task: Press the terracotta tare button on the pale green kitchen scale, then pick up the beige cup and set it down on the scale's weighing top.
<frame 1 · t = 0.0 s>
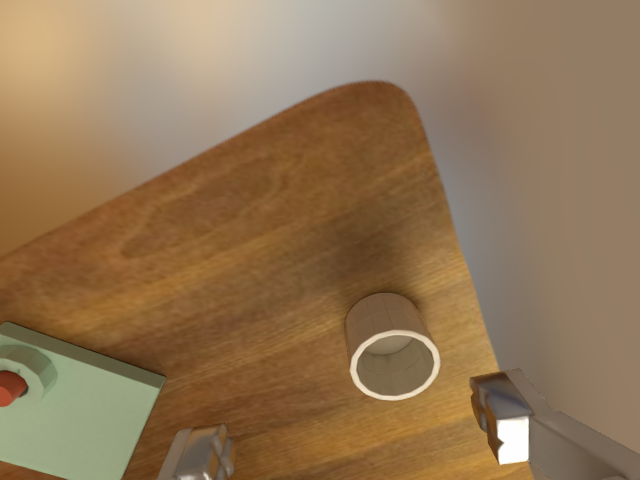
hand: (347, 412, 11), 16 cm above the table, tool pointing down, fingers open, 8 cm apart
beige cup: (382, 325, 29), on the table
scale: (71, 409, 32), on the table
tare button: (4, 388, 27), point 3 cm above the table, slide at 0.1 cm
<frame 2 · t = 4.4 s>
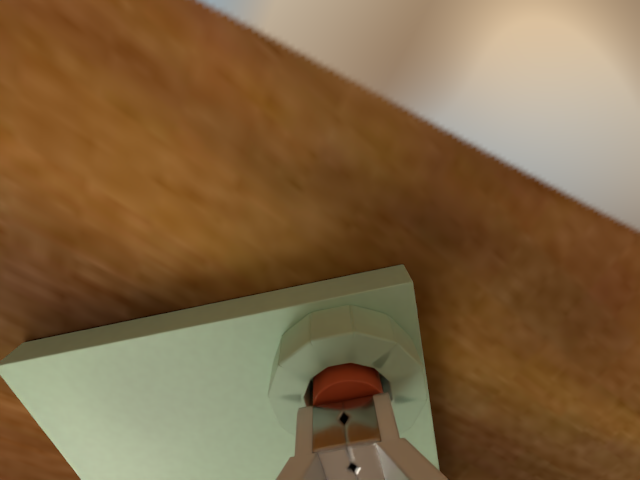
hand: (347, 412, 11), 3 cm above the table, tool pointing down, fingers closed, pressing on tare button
scale: (256, 426, 16), on the table
tare button: (347, 389, 12), point 3 cm above the table, slide at -0.7 cm, touching gripper
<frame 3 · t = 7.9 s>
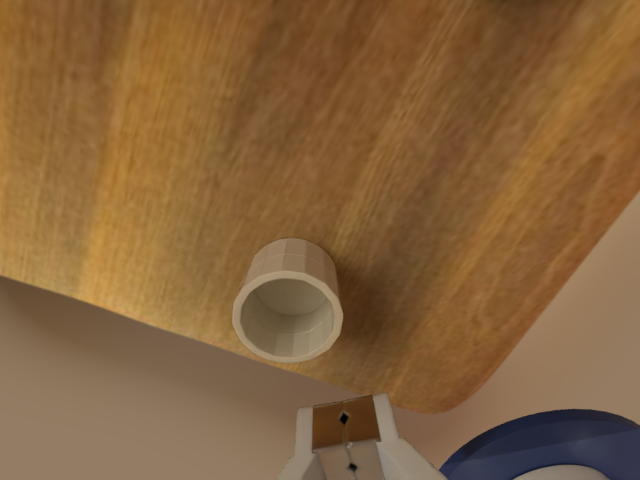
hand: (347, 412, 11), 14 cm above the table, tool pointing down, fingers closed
beige cup: (292, 279, 25), on the table
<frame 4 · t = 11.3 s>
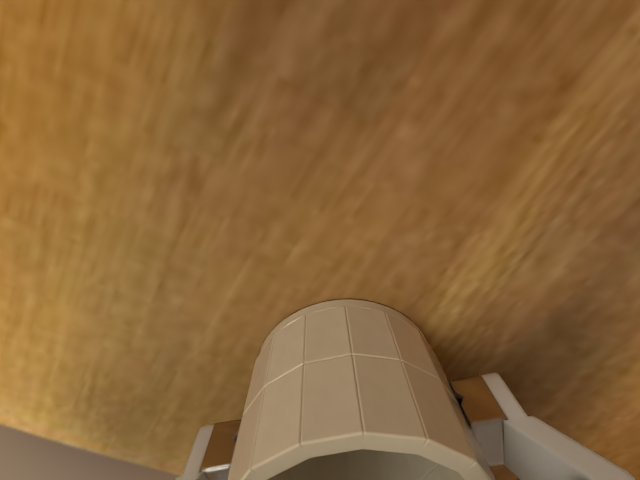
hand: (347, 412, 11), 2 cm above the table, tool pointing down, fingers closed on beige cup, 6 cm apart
beige cup: (344, 374, 12), on the table, touching gripper
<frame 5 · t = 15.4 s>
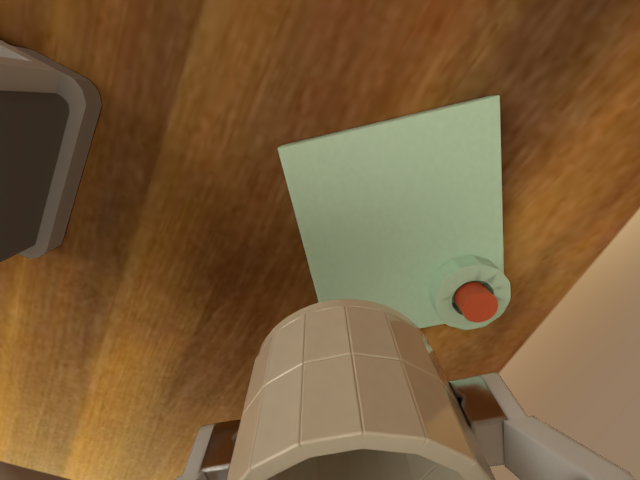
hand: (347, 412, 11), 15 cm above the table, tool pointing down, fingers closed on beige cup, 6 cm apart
beige cup: (344, 374, 12), point 14 cm above the table, touching gripper
scale: (398, 231, 25), on the table
tare button: (475, 301, 23), point 3 cm above the table, slide at 0.1 cm
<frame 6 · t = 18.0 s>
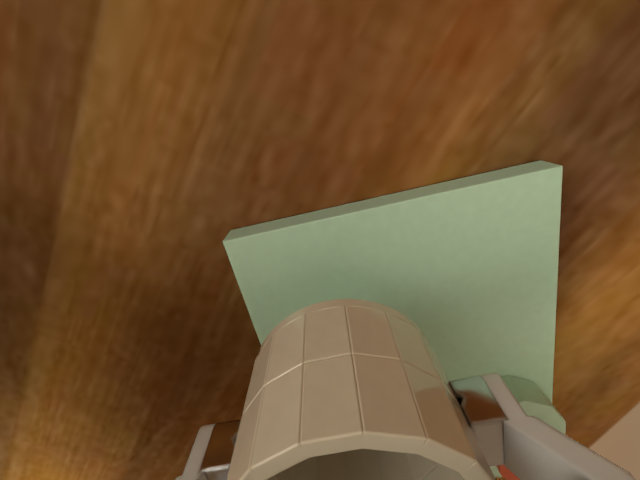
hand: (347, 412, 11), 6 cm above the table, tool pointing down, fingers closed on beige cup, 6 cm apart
beige cup: (344, 374, 12), point 5 cm above the table, touching gripper
scale: (403, 338, 18), on the table
tare button: (516, 449, 16), point 3 cm above the table, slide at 0.1 cm
when the fingers open (3 cm above the table, at t = 19.8 s): beige cup stays where it is, resting on scale.
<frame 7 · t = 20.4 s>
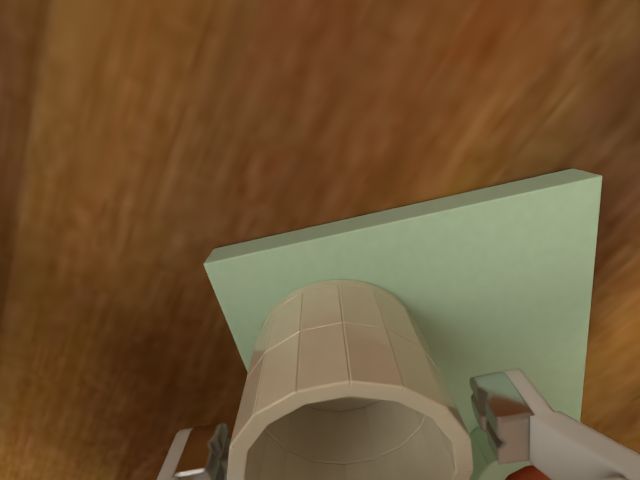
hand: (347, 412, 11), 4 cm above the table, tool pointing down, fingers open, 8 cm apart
beige cup: (338, 349, 14), point 1 cm above the table, touching scale
scale: (411, 367, 16), on the table
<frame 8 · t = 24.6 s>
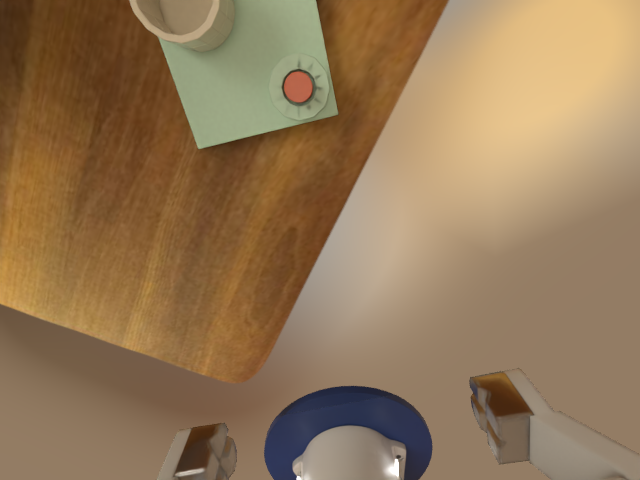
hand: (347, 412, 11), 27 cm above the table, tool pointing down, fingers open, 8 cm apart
beige cup: (195, 7, 28), point 1 cm above the table, touching scale
scale: (244, 41, 30), on the table
tare button: (298, 87, 29), point 3 cm above the table, slide at 0.1 cm
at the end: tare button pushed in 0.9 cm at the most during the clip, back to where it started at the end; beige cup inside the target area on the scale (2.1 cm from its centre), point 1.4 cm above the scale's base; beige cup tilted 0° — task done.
